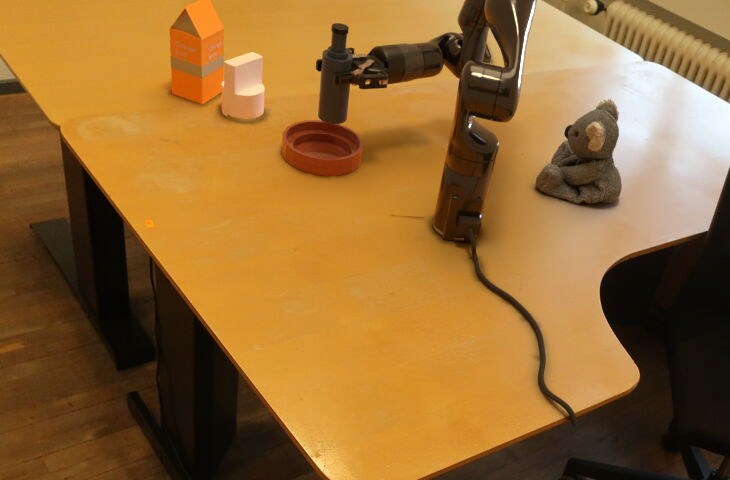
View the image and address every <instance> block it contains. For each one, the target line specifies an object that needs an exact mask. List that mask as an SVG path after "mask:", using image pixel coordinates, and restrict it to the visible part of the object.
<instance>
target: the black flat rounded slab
mask: <svg viewBox="0 0 730 480" xmlns="http://www.w3.org/2000/svg"><path fill="white" fill-rule="evenodd" d="M459 34H461V35H462V36H463V33H462V32H460V33H459ZM491 60H492V54H491V51H490V49H489V46H488V42H487V43H486V48H485V53H484V58H483V62H487V63H488V62H491Z"/></svg>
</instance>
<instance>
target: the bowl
mask: <svg viewBox="0 0 730 480" xmlns="http://www.w3.org/2000/svg"><path fill="white" fill-rule="evenodd" d="M363 152H364V141H363V139H362V138H361V136H360V135H359V134H358V133H357V132H355V131H354V130H353V129H351V128H349V127H347V126H346V125H342V124H330V123H326V122H324V121H322V120H320V119H312V120H311V119H310V120H302V121H297V122H293V123H292V124H290V125H288V126H286V128H285V129H284V130H283V131H282V143H281V155H282V157H283V159H284V161H285V162H286V163H288V164H289V165H290V166H292V167H293V168H295V169H297V170H299V171H301V172H304V173H306V174H307V173H308V174H311V175H316V176H323V177H337V176H343V175H347V174H350V173H352V172H354V171H356V170H357V169H358V168H359V167H360V165H362V160H363Z"/></svg>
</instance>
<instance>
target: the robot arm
mask: <svg viewBox="0 0 730 480" xmlns="http://www.w3.org/2000/svg"><path fill="white" fill-rule="evenodd" d="M537 2H538V0H464V1H463V4H462V6H461V9H460V10H459V13H458V16H457V24H458V26H459V28H460V30H461V33H463V36H462V35H461V34H459V33H458V32H453V31H448V32H444V33H442V34H440V35H438V36H436V37H434V38H432V39H430V40H427V41H425V42H423V41H422V42H414V43H394V44H385V45H376V46H374V47H372V48H371V50H370V51H369V52H368V53H359V54H357V53H356V52H355V48H354V47H346V49H348V51H349V53H350V54H352V56H353V61H352V71H351V72H343V73H335V74H334V75H333V84H334V85H335V86H339V85H347V84H350V85H351V86H354V87H355V86H358V89H360V90H375V89H376V90H377V89H387V88H388V85H394V84H401V83H408V82H412V81H414V80H421V79H427V78H433V77H437V76H438V75H439V74H440V73H441V72H442V71H443V69H444V66H445V67H446V68H447V69H448V70H449V71H450V73H451V74H452V75H453V76H454V77H456V78H457V79H458V86H457V92H456V100H455V107H454V114H453V120H452V125H451V130H450V134H449V139H448V145H447V149H446V153H445V154H446V155H445V158H444V164H443V167H442V168H443V169H442V175H441V180H440V185H439V189H438V194H437V199H436V204H435V205H436V206H435V210H434V215H433V218H432V223H431V224H432V228H433V229H434V231H435V232H436V233H437V234H438V235H440V236H441V237H442V239H443V240H445V241H457V242H469V243H470V250H471V257H472V262H473V265H474V270H475V273H476V275H477V277H479V279H480V280H481V281H482V282H483V284H485V285H486V287H488V288H490V289H491V290H492V291H493V292H495V293H497V294H498V295H500V296H502V297H503V298H504V299H506V300H508V301H509V302H510V303H511V304H512V305H514V306H515V308H517V310H519V311H520V312H521V313H522V314H523V315H524V317H525V318H526V319H527V320H528V321H529V323H530V324H531V326H532V327H533V330H534V331H535V333H536V337H537V340H538V349H539V354H540V355H539V357H540V359H539V360H540V362H539V368H538V374H537V378H538V384H539V386H540V389H541V390H542V392H543V393H544V394H545V396H546V397H547V398H549V399H550V400H551V401H553V402H554V403H556V404H558V405H559V406H560V407H562V408H563V409H564V410H565V412H566V413H567V414H568V416H569V418H570V422H571V425H572V426H573V427H575V428H578V427H579V423H578V419H577V416H576V413H575V411H574V410H573V408H572V407H571V406H570V405H569V404H568V403H567V402H566V401H565V400H563V398H561V397H559V396H558V395H556V394H554V392H552V391H551V390H550V389H549V388H548V386H547V384H546V382H545V369H546V362H547V355H546V347H545V340H544V336H543V333H542V331H541V328H540V326H539V324H538V323H537V321H536V319H535V318H534V316H532V314H531V313H530V312H529V310H527V309H526V308H525V307H524V305H522V304H521V303H520V302H519V301H518V300H517V299H515V298H514V296H512V295H511V294H509V293H508V292H506V291H505V290H503V289H502V288H500V287H498V286H497V285H495V284H494V283H492V281H490V280H489V279H488V278H487V277H486V276H485V274H484V273H483V272H482V270H481V268H480V263H479V259H478V254H477V244H476V238H477V237H478V236H480V232H481V229H482V225H483V224H482V220H483V215H484V211H485V207H486V203H487V199H488V194H489V190H490V186H491V181H492V177H493V173H494V169H495V165H496V161H497V157H498V153H499V148H500V140H499V138H498V136H497V135H496V134H495V133H494V131H492V130H491V129H489V128H487V127H486V126H484V125H483V124H482V123H481V122H479V121H478V120H477V119H476V118H478V119H480V120H481V119H482V120H486V121H491V122H495V123H502V124H503V123H504V124H506V123H508V122H511V120H513V118H514V116H515V114H516V112H517V110H518V106H519V102H520V97H521V90H522V84H523V76H524V67H525V60H526V52H527V48H528V47H527V46H528V42H529V38H530V37H529V36H530V32H531V28H532V24H533V20H534V16H535V11H536V6H537ZM489 31H490V32H491V34H492V36H493V39H494V40H495V42H496V44H497V46H498V48H499V50H500V53H501V56H502V60H503V66H500V65H496V64H491V63H488V62H484V61H483V58H484V53H485V48H486V43H487V44H488V37H489ZM321 68H322V58H319V59H318V58H317V60H316V61H315V70H316V71H317V72H319V73H321ZM368 82H369V83H368Z"/></svg>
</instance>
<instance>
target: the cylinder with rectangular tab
mask: <svg viewBox="0 0 730 480" xmlns="http://www.w3.org/2000/svg"><path fill="white" fill-rule="evenodd" d="M263 59H264V57H263V56H262V55H261V54H259V53H257V52H254V51H251V52H248V53H244V54H242V55H238V56H235V57H232V58H230V59H226V60H224V81H223V82H222V92H221V113H222V114H223V115H224V117H227V118H228V116H230V117H233V118H237V119H242V120H243V119H247V120H248V119H256V118H259V117H261V116H262V115H263V114H264V111H265V92H266V91H265V89H266V87H265V85H264V84H263V65H264V64H263V63H264V62H263V61H264V60H263Z"/></svg>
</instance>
